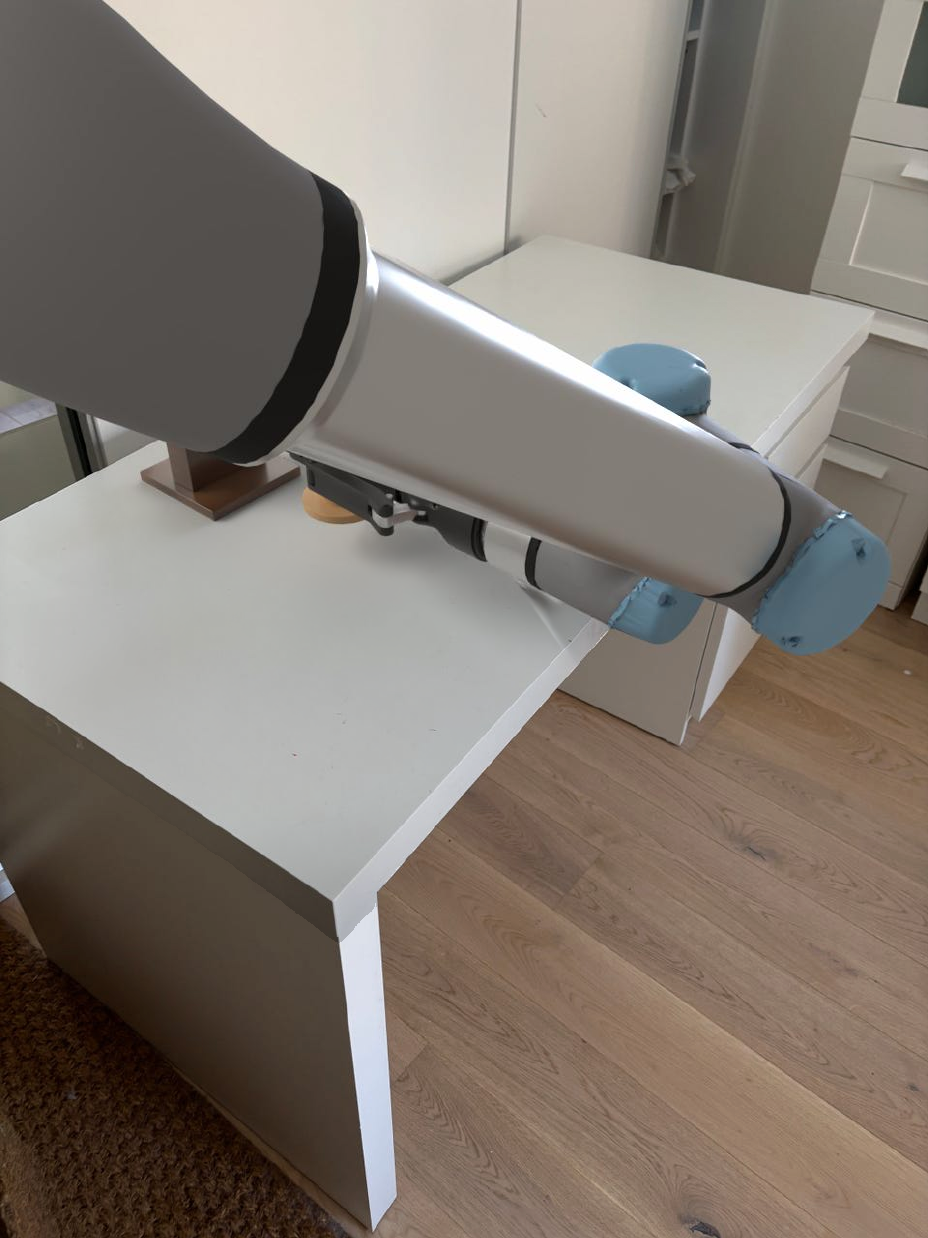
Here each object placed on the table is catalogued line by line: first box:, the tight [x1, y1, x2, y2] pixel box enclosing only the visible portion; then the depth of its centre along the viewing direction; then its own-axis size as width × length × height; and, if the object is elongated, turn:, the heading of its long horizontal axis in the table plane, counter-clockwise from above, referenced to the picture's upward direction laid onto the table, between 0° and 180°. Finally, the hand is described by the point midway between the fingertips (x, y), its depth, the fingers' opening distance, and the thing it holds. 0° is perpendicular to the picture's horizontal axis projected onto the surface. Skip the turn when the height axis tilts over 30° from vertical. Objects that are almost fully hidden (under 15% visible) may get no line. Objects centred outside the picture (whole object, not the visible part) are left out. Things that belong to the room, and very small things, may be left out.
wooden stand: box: [139, 442, 302, 522], centre depth 89 cm, size 17×11×17 cm, turn 51°
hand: (294, 418), depth 83 cm, fingers closed on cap, 4 cm apart
